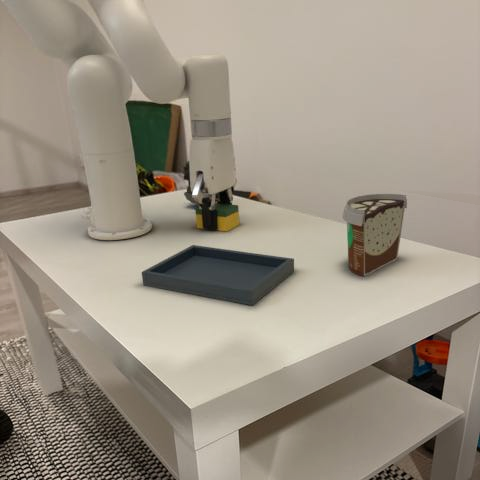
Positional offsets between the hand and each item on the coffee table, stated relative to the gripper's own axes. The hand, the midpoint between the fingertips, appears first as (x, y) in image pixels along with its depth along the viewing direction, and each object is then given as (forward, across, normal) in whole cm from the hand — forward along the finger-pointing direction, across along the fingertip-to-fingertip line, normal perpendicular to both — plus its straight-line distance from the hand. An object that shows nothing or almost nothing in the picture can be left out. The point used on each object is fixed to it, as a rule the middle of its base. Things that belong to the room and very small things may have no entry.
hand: (218, 224), depth 102 cm
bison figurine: (+1, -12, -11) cm, 16 cm away
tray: (0, +24, +15) cm, 28 cm away
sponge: (0, 0, 0) cm, 0 cm away
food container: (+1, +10, +33) cm, 34 cm away
